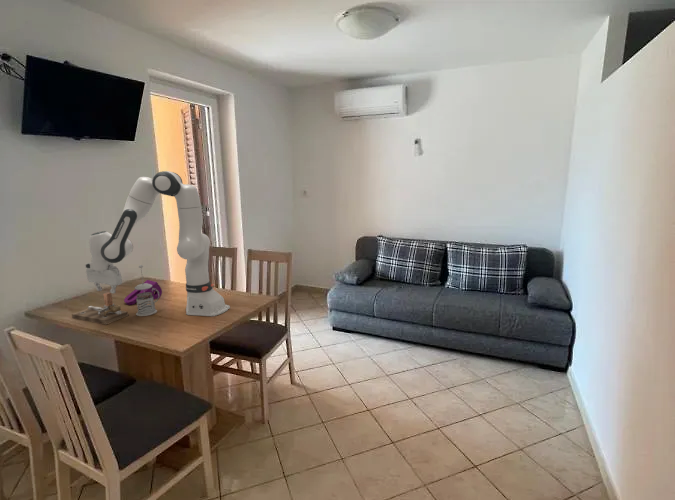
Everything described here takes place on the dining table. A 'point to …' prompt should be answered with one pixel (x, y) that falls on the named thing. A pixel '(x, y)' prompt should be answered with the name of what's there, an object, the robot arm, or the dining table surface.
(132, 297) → the purple curved piece
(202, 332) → the dining table surface
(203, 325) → the dining table surface
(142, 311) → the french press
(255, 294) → the dining table surface
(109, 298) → the sliding divider leg
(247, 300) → the dining table surface
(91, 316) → the gauge board
